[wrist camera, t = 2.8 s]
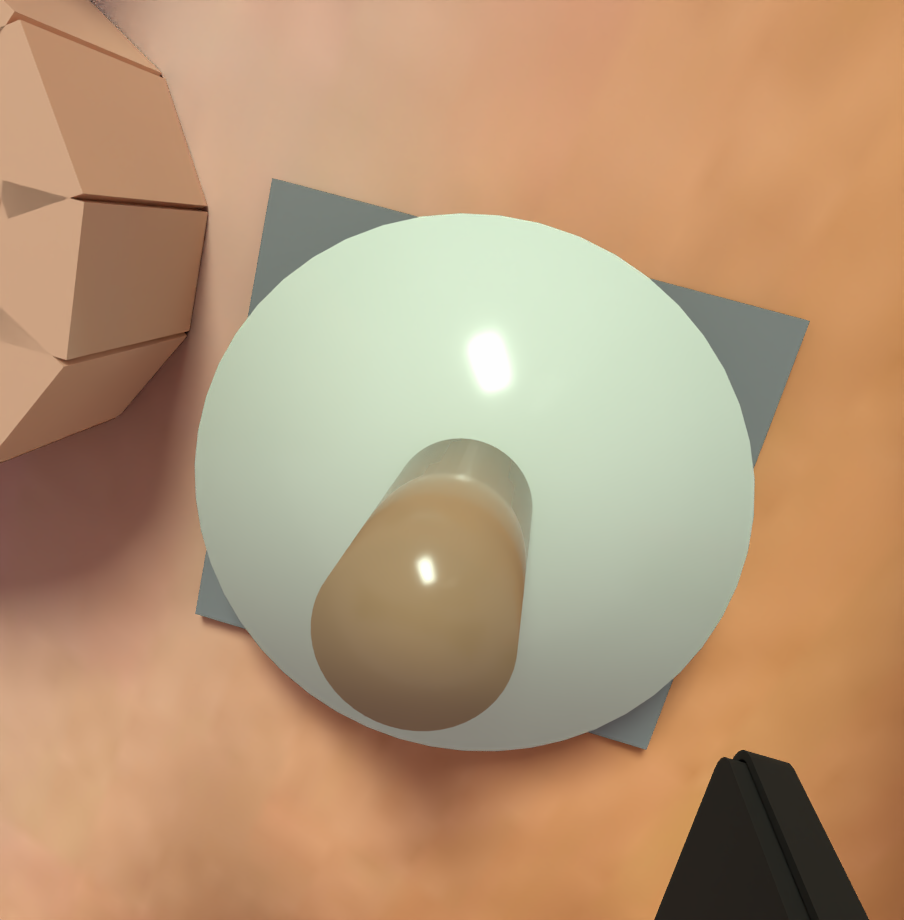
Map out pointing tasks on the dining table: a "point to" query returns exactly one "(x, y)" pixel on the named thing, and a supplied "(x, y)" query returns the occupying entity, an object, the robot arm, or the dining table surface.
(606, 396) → the lid
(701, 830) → the robot arm
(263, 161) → the dining table surface
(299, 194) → the placemat
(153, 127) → the round wooden tub
